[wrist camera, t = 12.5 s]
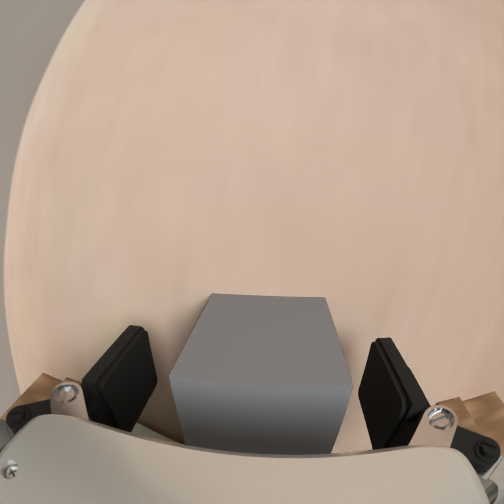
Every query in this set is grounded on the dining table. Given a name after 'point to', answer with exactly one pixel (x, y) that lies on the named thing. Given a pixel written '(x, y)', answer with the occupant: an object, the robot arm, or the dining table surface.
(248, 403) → the grey block
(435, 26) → the dining table surface
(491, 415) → the frame
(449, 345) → the dining table surface
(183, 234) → the dining table surface
